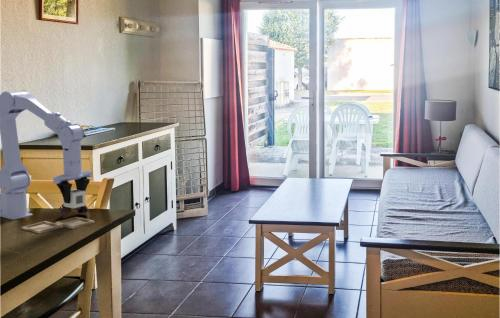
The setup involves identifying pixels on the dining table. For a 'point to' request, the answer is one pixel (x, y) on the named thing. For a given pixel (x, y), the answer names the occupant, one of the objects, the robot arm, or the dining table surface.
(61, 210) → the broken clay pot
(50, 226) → the tray near
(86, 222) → the tray far
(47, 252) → the dining table surface
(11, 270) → the dining table surface
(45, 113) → the robot arm
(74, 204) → the white marked cube
